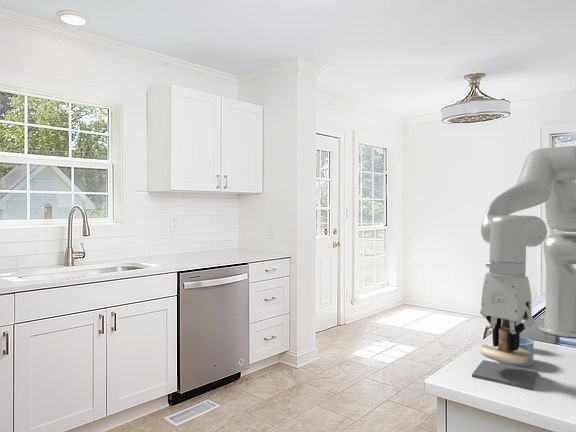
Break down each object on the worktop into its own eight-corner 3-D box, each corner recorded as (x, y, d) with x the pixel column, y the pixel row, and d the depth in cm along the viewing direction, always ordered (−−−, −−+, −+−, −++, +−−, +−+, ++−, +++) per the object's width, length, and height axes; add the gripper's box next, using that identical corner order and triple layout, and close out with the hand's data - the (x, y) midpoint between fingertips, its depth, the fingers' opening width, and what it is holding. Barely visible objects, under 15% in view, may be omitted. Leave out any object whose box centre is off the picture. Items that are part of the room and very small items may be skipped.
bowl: (497, 352, 117) (497, 332, 117) (535, 359, 111) (535, 338, 111) (490, 361, 109) (490, 340, 109) (531, 369, 104) (531, 347, 104)
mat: (482, 362, 109) (482, 359, 109) (537, 373, 102) (537, 370, 102) (471, 376, 99) (472, 374, 99) (531, 389, 92) (531, 386, 92)
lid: (485, 345, 108) (486, 321, 108) (533, 354, 102) (533, 328, 101) (476, 356, 99) (477, 329, 99) (527, 366, 93) (528, 338, 93)
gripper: (466, 265, 106) (465, 340, 106) (531, 274, 91) (529, 361, 91) (486, 264, 109) (485, 336, 109) (552, 272, 95) (550, 356, 95)
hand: (505, 347), depth 100 cm, fingers closed on lid, 3 cm apart
